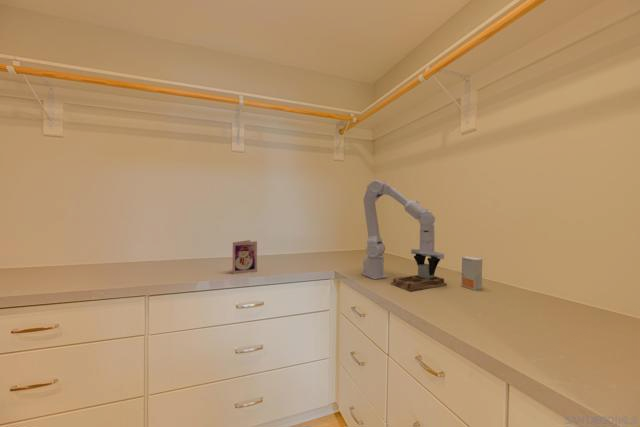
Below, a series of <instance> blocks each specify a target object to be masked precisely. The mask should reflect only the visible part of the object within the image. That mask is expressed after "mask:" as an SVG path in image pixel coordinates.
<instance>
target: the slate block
mask: <svg viewBox="0 0 640 427" xmlns="http://www.w3.org/2000/svg"><path fill="white" fill-rule="evenodd" d="M417 275H418V277H421V278H425V279H430V278H434V276H435V274H434V275H430V273H429V263H424V264H420V265H417Z"/></svg>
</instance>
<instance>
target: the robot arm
mask: <svg viewBox="0 0 640 427" xmlns="http://www.w3.org/2000/svg"><path fill="white" fill-rule="evenodd" d="M383 195H385V196H390V197H391V198H393V199H394V200H395V201H397V202H398V203H400V204H401V205H402V206H403V207H404V211H405V213H408V215H410V216H411V217H413V218H414V219H415V220H418V223H419V224H420V226H419V227H420V228H419V249H415V248H414V249H413V248H412V249H411V250H410V252H411V253H410V254H411V255H413V259H414V261H415V263H416V265H417V266H418V265H420V264H426V263H425V262H426V259H427V262H428V264H429V273H430V275H434V276H435V273H436V270H437V266H438V264H439V263H440V261H441V260H443V259H445V253H441V252H436V251H435V235H436V234H435V224H434V223H435V222H436V216H435V215H434V214H433V213H432V212H430V211H429V209H428V208H425V207H424V206H422V205H420V202H419V201H417V200H413V199H412V200H410V199H408V198H406V197H405V195H403V194H402V193H401V192H400V191H398V190H397V189H396V188H394V187H393V186H392V185H390V184H388V183H386V182H385V181H382V180H380V179H373V180H371V181H370V182H369V183H368V185H366V190H365V193H364V197H363V207H364V214H365V215H364V216H365V221H366V222H365V223H366V229H367V236H368V238H367V241H366V244H367V246H366V249H365V250H366V251H365V252H366V256H365V257H364V259H363V264H362V266H363V267H362V268H363V272H362V273H361V275H363V276H365V277H367V278H371V279H373V280H378V279H385V278H388V275H385V274H384V272H385V269H384V264H385V260H384V258H385V256H384V255H383V254H384V253H385V251H386V247H385V246H386V245H385V244H384V243H383V239H382V237H381V235H380V229H379V220H378V214H377V207H376V202H377V201H378V199H380V197H382V196H383ZM426 257H427V258H426Z"/></svg>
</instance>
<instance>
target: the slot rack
mask: <svg viewBox="0 0 640 427" xmlns="http://www.w3.org/2000/svg"><path fill="white" fill-rule="evenodd" d="M390 285H392V286H394V287H397V288H400V289H402V290H404V291H407V292H409V293H412V292H417V291H423V290H429V289H434V288H439V287H444V286H447V285H448V283H447V282H445V278H443V277H439V276H436V275H434V278H430V279H425V278H421V277H418V274H417V275H410V276H409V275H407V276H402V277H395V278H392V281H391V282H390Z"/></svg>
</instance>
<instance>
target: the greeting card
mask: <svg viewBox="0 0 640 427" xmlns="http://www.w3.org/2000/svg"><path fill="white" fill-rule="evenodd" d="M249 272H250V273H257V272H258V240H256V241H251V240H250V239H247V240H242V241H241V240H240V241H235V242H232V275H236V274H237V275H238V274H239V273H240V274H246V273H248V274H249ZM240 274H239V275H240Z"/></svg>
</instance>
